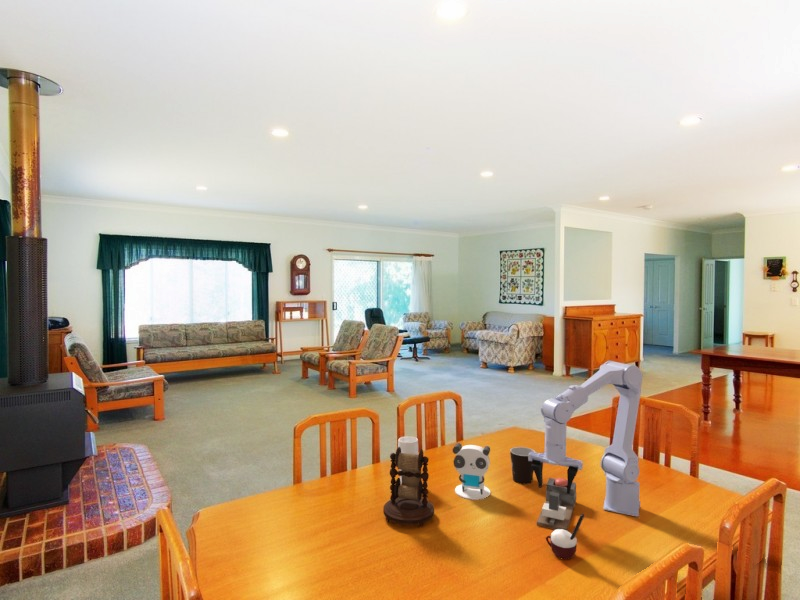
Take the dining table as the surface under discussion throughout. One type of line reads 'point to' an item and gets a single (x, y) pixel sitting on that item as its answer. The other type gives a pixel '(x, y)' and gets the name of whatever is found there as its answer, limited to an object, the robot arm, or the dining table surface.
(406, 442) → the drinking glass
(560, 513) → the carriage
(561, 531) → the cocoa
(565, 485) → the button
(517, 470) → the coffee mug
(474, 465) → the panda figurine
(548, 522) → the rail board
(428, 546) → the dining table surface
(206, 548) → the dining table surface
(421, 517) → the dark brown wooden stand
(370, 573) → the dining table surface
